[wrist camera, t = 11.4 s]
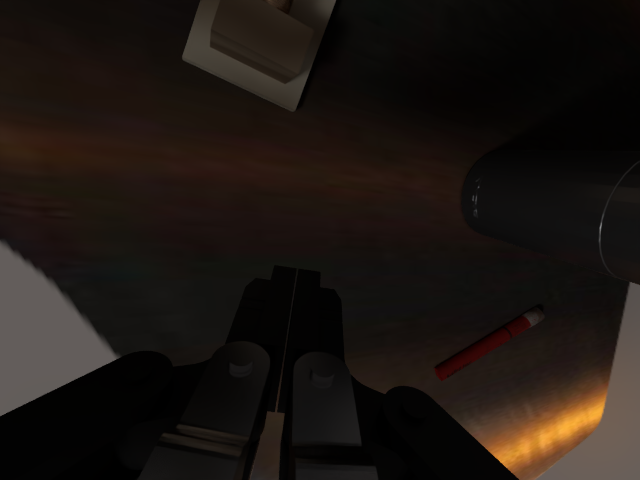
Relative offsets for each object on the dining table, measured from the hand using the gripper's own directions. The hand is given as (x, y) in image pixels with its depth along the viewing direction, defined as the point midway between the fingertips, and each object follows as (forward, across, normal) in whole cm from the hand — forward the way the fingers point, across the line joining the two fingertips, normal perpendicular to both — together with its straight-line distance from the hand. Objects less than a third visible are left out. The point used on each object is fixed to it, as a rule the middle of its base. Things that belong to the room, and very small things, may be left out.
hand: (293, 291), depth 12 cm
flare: (+24, -24, +20) cm, 40 cm away
